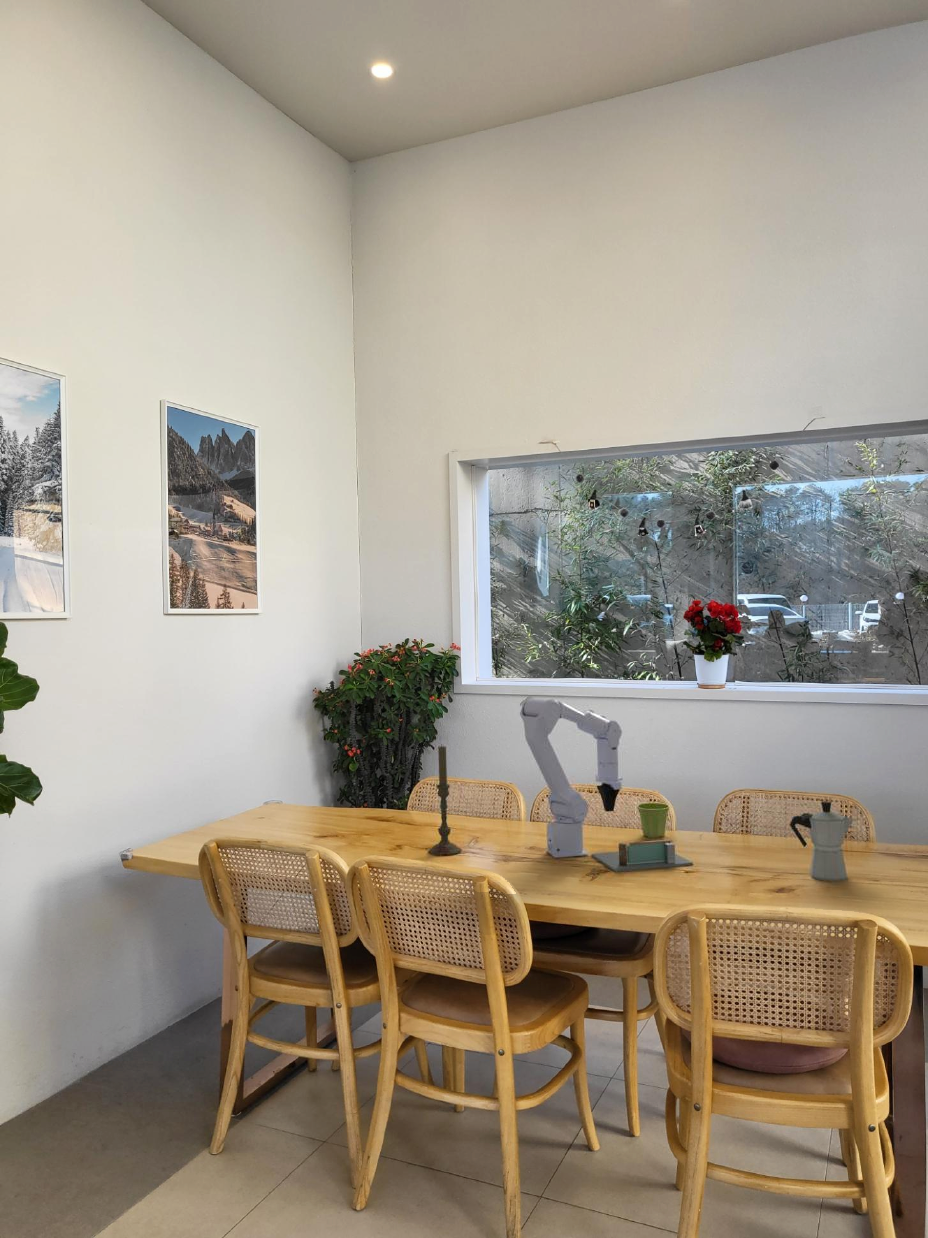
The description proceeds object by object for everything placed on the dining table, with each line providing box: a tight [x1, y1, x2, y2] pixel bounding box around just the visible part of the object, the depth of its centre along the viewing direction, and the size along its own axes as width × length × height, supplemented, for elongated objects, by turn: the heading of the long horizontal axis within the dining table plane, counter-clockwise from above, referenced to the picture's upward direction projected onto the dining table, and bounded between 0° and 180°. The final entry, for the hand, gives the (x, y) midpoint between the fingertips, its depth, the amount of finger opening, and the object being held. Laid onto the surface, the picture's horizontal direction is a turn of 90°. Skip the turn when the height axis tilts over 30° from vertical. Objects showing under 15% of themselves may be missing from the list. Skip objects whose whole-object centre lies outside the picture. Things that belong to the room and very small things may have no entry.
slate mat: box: [591, 850, 694, 873], centre depth 244 cm, size 21×17×1 cm
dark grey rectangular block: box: [664, 843, 676, 864], centre depth 239 cm, size 2×2×6 cm
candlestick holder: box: [428, 743, 462, 857], centre depth 259 cm, size 9×9×30 cm
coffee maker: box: [789, 800, 856, 882], centre depth 225 cm, size 15×9×18 cm, turn 77°
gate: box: [627, 839, 674, 864], centre depth 240 cm, size 12×1×5 cm, turn 102°
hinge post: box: [618, 842, 628, 866], centre depth 238 cm, size 2×2×6 cm
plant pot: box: [636, 802, 670, 839], centre depth 272 cm, size 9×9×9 cm
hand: (609, 811), depth 263 cm, fingers closed
